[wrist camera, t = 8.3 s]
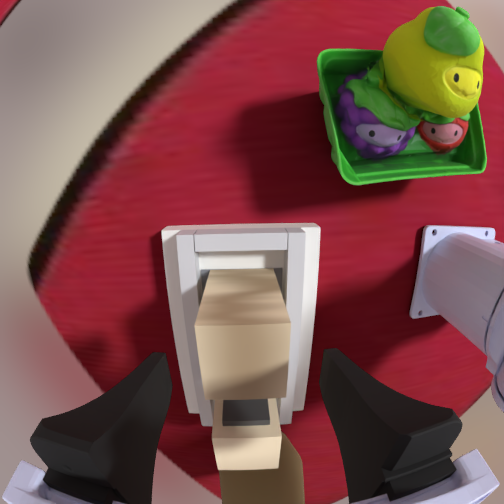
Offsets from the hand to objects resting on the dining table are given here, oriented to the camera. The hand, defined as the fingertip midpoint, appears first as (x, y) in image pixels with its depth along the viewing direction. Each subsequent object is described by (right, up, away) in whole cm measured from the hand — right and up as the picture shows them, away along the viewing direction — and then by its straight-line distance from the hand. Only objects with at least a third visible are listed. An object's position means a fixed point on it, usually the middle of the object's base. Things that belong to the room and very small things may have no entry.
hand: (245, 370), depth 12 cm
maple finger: (0, +2, +7) cm, 7 cm away
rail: (0, -1, +9) cm, 9 cm away
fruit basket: (+9, +15, +5) cm, 19 cm away
